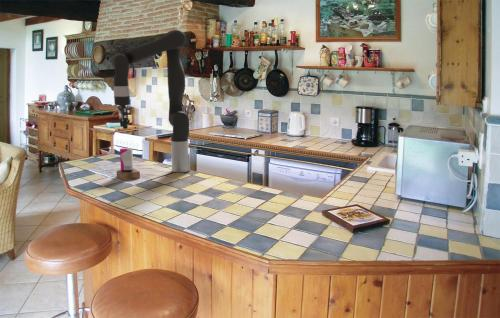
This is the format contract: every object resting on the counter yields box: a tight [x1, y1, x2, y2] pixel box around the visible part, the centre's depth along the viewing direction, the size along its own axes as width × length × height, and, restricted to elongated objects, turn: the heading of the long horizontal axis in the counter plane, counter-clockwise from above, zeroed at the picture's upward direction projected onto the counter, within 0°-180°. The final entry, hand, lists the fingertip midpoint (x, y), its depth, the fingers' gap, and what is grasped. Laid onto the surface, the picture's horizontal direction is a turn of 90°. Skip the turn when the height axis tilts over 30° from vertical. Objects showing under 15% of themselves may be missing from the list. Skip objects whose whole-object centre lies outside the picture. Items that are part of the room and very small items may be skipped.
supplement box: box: [119, 147, 134, 171], centre depth 213 cm, size 6×6×12 cm
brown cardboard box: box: [116, 167, 141, 182], centre depth 213 cm, size 9×9×4 cm
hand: (123, 127), depth 208 cm, fingers open, 8 cm apart
